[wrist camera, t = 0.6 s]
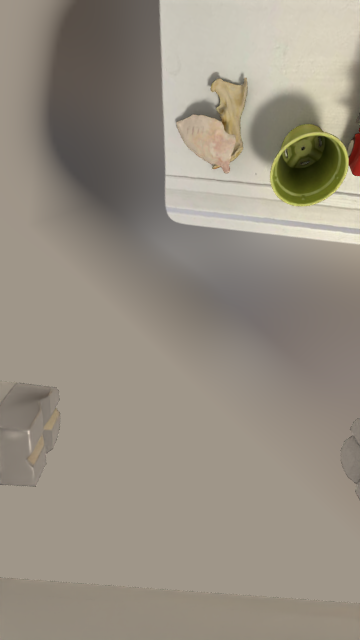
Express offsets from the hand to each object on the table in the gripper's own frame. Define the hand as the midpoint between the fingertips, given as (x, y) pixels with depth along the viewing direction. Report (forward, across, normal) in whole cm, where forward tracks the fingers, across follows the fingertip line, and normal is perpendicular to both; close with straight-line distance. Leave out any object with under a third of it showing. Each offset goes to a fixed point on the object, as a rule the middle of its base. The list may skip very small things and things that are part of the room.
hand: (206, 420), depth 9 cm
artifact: (+44, -6, -8) cm, 45 cm away
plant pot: (+47, -16, -11) cm, 51 cm away
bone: (+48, -4, -12) cm, 49 cm away
